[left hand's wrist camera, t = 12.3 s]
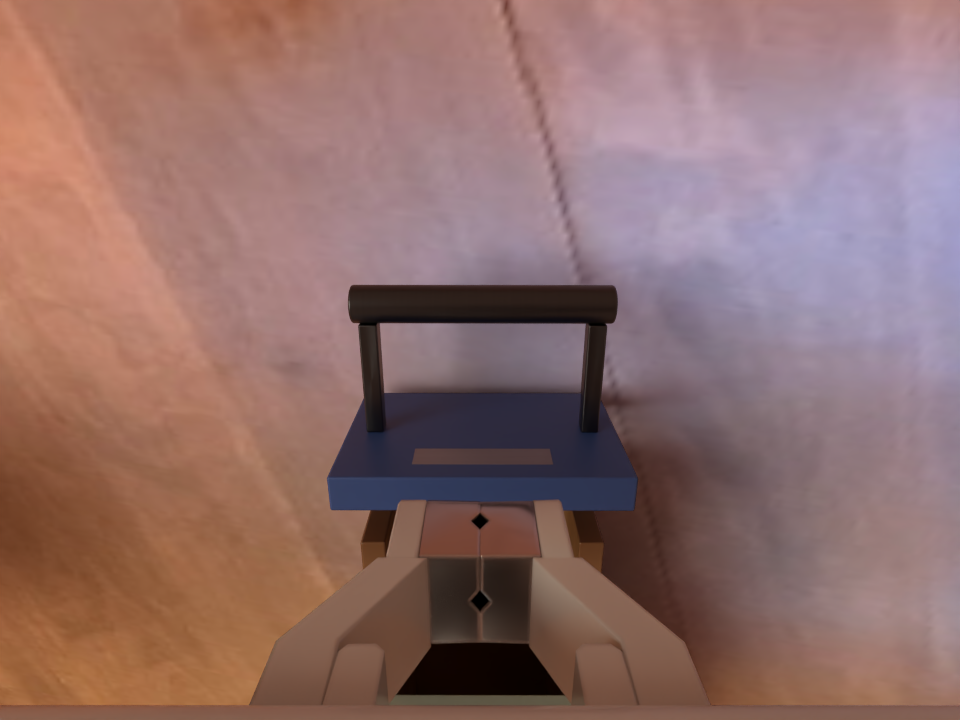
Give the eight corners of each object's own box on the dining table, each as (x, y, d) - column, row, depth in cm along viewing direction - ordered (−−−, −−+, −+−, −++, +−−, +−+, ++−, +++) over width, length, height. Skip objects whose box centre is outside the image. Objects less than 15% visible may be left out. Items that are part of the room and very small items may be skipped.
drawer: (355, 265, 21) (307, 312, 15) (609, 266, 21) (659, 313, 15) (391, 713, 29) (368, 854, 23) (571, 714, 29) (593, 855, 23)
